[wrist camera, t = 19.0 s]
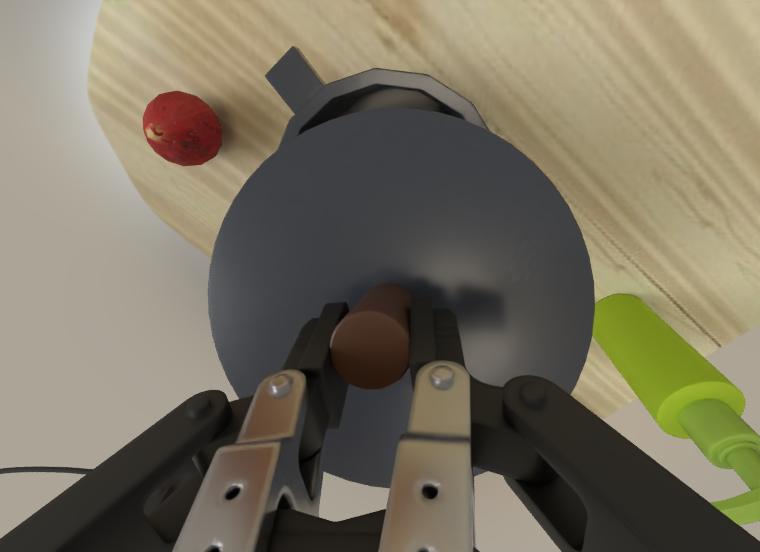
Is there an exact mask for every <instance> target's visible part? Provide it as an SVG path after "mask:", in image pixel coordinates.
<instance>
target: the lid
mask: <svg viewBox="0 0 760 552" xmlns="http://www.w3.org/2000/svg"><path fill="white" fill-rule="evenodd" d="M424 295H432V303H433V309H440V308H449V309H450V310H451V311H452V312H453V313H454V314H455V315H456V317H457V323H458V328H459V334H460V339H461V345H462V350H463V356H464V361H465V366H466V369H467V371H468V372H469V373H470V375H472V376H473V377H474V378H475V379H477V380H479V381H481V382H483V383H486V384H490V385H494V386H499V387H504V385H505V383H506V382H507V381H509V380H510V379H512V378H514V377H517V376H522V375H533V376H539V377H543V378H545V379H548V380H550V381H552V382H553V383H555V384H556V385H558V386H559V387H560V388H561V389H563V390H564V391H565V392H567V393H568V394H569V395H570V394H571V393H572V391H573V389H574V388H575V386H576V384H577V381H578V379H579V376H580V374H581V371H582V369H583V367H584V364H585V362H586V358H587V354H588V350H589V346H590V342H591V338H592V332H593V323H594V314H595V298H594V280H593V275H592V269H591V263H590V258H589V254H588V251H587V248H586V245H585V242H584V239H583V236H582V233H581V230H580V228H579V226H578V224H577V222H576V220H575V218H574V216H573V214H572V212H571V210H570V208H569V206H568V204H567V203H566V201H565V200H564V199H563V197H562V196H561V194H560V193H559V191H558V190H557V188H556V187H555V186H554V184H553V183H552V182H551V181H550V179H549V178H548V177H547V176H546V175H545V174H544V173H543V172H542V171H541V170H540V169H539V168H538V166H537V165H536V164H535V163H534V162H533V161H532V160H530V159H529V158H528V157H527V156H525V155H524V154H523V153H522V152H520V151H519V150H518V149H517V148H516V147H514V146H513V145H512V144H510V143H509V142H507V141H505V140H504V139H502V138H500V137H499V136H497V135H495V134H494V133H492V132H490V131H489V130H487V129H484V128H482V127H480V126H477V125H475V124H473V123H470V122H468V121H466V120H463V119H460V118H457V117H453V116H449V115H445V114H442V113H438V112H433V111H425V110H417V109H409V108H398V109H376V110H369V111H363V112H356V113H352V114H349V115H345V116H342V117H339V118H335V119H332V120H329V121H327V122H324V123H322V124H320V125H318V126H316V127H313V128H311V129H309V130H307V131H305V132H303V133H302V134H300V135H299V136H297V137H295V138H294V139H292V140H291V141H289V142H287V143H286V144H284V145H283V146H282V147H281V148H279V149H278V150H277V151H276V152H275V153H274V154H272V155H271V156H270V157H269V158H268V159H266V160H265V161H264V162H263V163H262V164H261V165H260V167H259V168H258V169H257V170H256V171H255V172H254V173H253V174H252V175H251V176H250V178H249V179H248V180H247V181H246V183H245V184H244V186H243V187H242V189H241V190H240V192H239V193H238V194H237V196H236V197H235V199H234V200H233V202H232V204H231V206H230V208H229V210H228V212H227V214H226V216H225V218H224V220H223V222H222V225H221V228H220V231H219V234H218V236H217V239H216V242H215V246H214V250H213V255H212V260H211V264H210V272H209V283H208V303H209V304H208V305H209V317H210V323H211V330H212V336H213V339H214V343H215V346H216V350H217V353H218V357H219V359H220V362H221V364H222V366H223V369H224V371H225V374H226V376H227V378H228V380H229V382H230V384H231V385H232V387H233V389H234V391H235V392H236V394H237V396H238V397H239V399H242V398H245V397H249V396H252V395H255V392H256V390H257V388H258V386H259V384H260V383H261V382H262V381H263V380H264V379H265V378H266V377H268V376H269V375H271V374H273V373H275V372H278V371H281V370H282V368H283V366H284V364H285V362H286V360H287V357H288V355H289V353H290V351H291V349H292V347H293V346H294V343H295V341H296V339H297V338H298V335H299V333H300V331H301V329H302V327H303V326H304V325H305V324H306V323H307V322H308V321H310V320H311V319H312V318H319V317H320V315H321V312H322V310H323V308H324V305H325V304H326V303H338V302H347V304H348V306H349V311H350V312H349V313H348V314H347V315H346V316H345V317H344V318H343V319H342V320H341V321H340V322H339V323H338V325H337V326H336V327H335V329H334V331H333V333H332V335H331V339H330V345H329V346H330V357H331V361H332V364H333V366H334V368H335V370H336V371H337V373H338V374H339V375H340V377H341V378H342V379H343V380H345V381H346V382H347V383H349V386H348V390H347V395H346V399H345V403H344V408H343V412H342V416H341V421H340V425H339V429H327V430H326V434H325V438H324V441H325V445H326V456H325V464H324V472H326V473H329V474H332V475H334V476H337V477H340V478H343V479H345V480H348V481H352V482H357V483H360V484H364V485H369V486H374V487H383V488H390V486H391V481H392V475H393V470H394V464H395V459H396V453H397V448H398V443H399V439H400V436H401V434H402V433H404V434H406V433H407V429H408V422H409V416H410V410H411V404H412V398H413V388H412V381H411V374H410V366H409V345H410V308H411V297H412V296H424ZM484 472H486V470H483V469H480V468H476V467H474V476H476V475H479V474H482V473H484Z"/></svg>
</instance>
